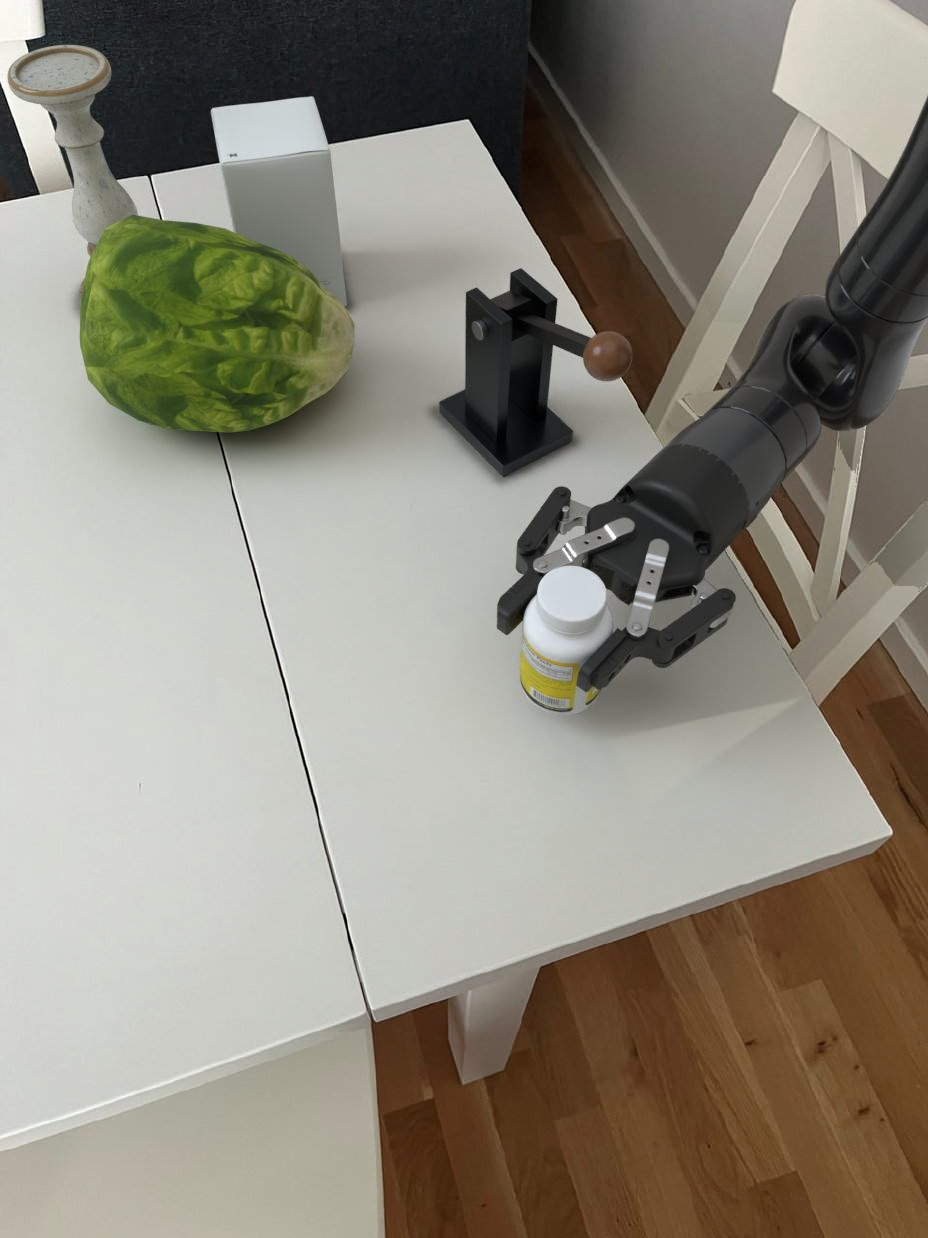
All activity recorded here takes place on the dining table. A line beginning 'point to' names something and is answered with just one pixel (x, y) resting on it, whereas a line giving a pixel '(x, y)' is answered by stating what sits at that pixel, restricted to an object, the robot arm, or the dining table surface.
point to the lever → (569, 338)
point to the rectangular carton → (282, 183)
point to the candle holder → (76, 129)
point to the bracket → (507, 383)
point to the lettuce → (207, 327)
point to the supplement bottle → (563, 638)
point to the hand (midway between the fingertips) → (542, 652)
